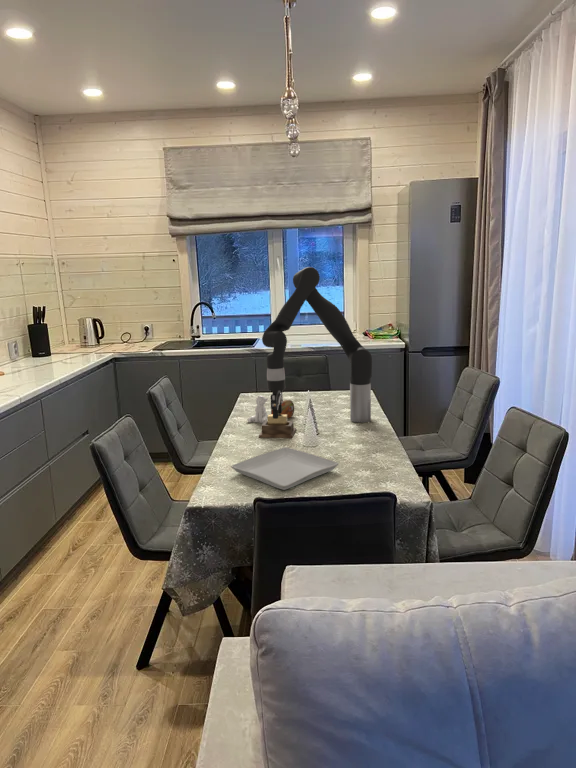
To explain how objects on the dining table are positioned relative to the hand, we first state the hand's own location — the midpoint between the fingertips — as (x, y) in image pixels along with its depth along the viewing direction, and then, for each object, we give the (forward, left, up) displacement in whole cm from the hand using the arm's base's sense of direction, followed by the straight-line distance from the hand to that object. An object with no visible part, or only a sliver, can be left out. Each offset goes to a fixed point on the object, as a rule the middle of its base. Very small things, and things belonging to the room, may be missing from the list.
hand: (277, 415), depth 238 cm
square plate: (-11, +45, -8) cm, 47 cm away
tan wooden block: (0, 0, -7) cm, 7 cm away
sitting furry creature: (+12, -19, -8) cm, 24 cm away
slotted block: (0, 0, -8) cm, 8 cm away
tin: (+2, -23, -8) cm, 25 cm away
